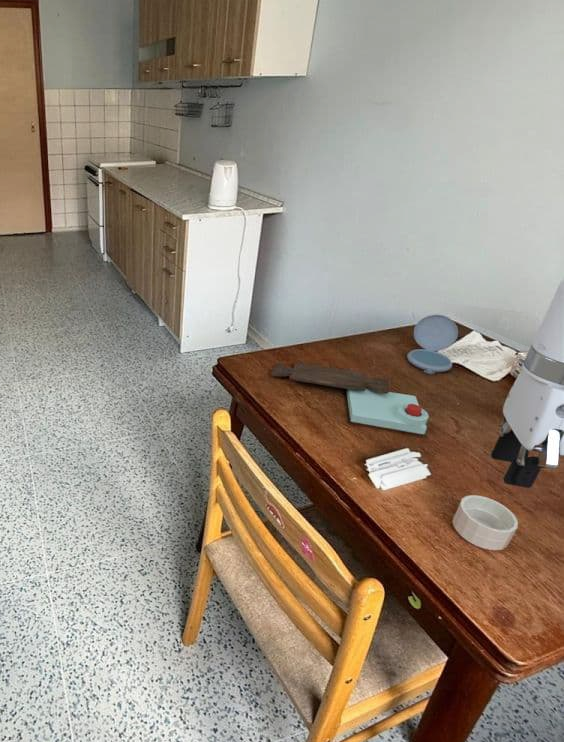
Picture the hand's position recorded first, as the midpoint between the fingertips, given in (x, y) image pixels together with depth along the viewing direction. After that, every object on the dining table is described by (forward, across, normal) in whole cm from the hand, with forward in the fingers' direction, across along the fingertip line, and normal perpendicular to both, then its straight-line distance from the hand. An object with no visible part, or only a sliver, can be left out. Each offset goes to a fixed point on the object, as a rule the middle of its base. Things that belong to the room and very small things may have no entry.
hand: (509, 470), depth 70 cm
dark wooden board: (+12, +39, +21) cm, 46 cm away
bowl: (+13, 0, 0) cm, 13 cm away
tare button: (+10, +27, +6) cm, 30 cm away
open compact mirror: (+14, +58, -4) cm, 60 cm away
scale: (+13, +31, +10) cm, 35 cm away
